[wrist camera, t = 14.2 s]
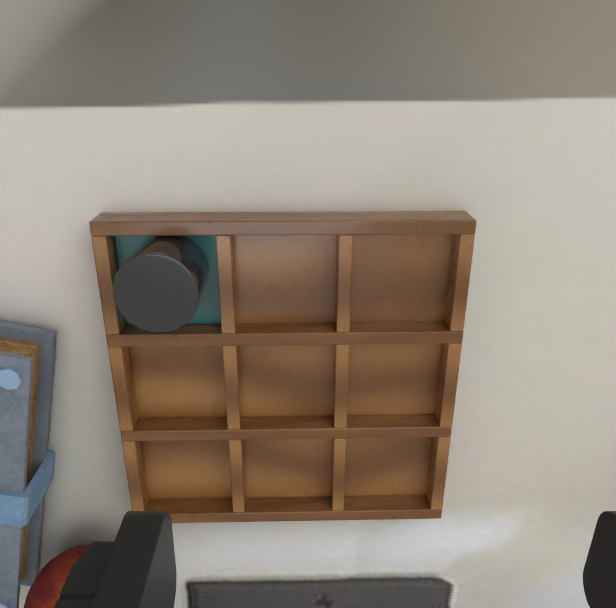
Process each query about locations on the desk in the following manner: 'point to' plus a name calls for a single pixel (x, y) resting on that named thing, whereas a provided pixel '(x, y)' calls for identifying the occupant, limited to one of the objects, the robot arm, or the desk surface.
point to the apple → (53, 579)
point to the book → (23, 451)
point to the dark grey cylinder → (161, 283)
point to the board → (294, 365)
